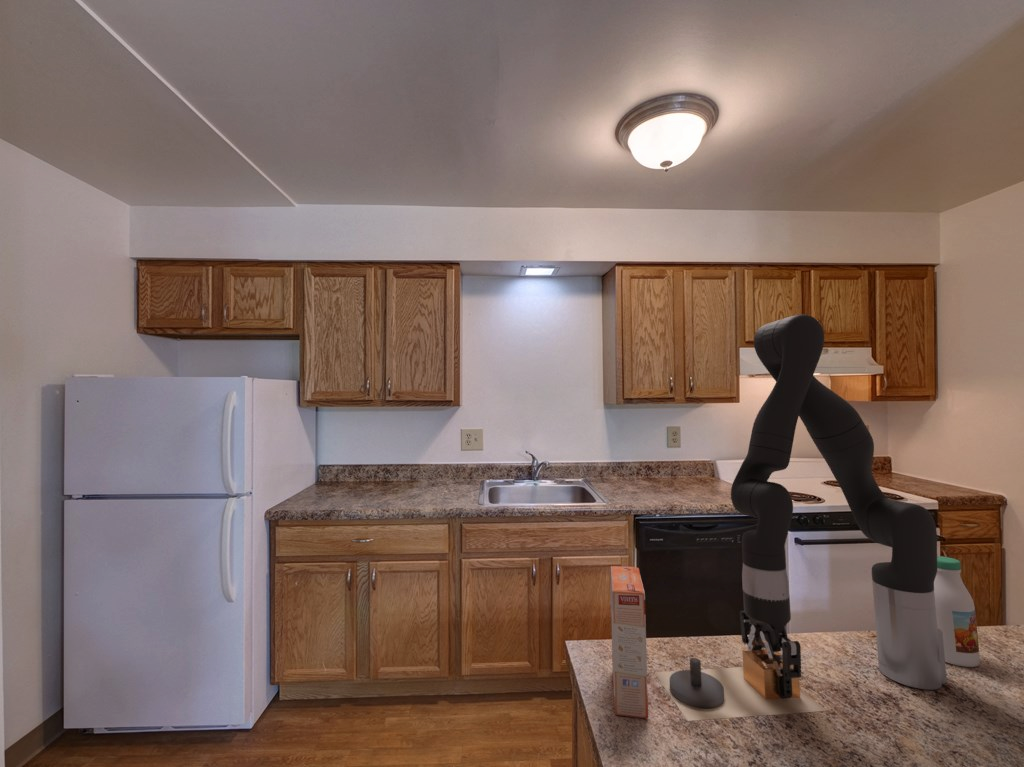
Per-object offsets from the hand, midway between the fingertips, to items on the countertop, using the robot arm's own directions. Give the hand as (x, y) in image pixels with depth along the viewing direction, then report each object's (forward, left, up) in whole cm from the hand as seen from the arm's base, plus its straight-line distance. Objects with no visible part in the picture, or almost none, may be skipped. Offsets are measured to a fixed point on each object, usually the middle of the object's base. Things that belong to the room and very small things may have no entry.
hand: (770, 684), depth 82 cm
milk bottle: (-45, -8, -2) cm, 46 cm away
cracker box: (+25, -4, -2) cm, 25 cm away
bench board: (+7, 0, -2) cm, 7 cm away
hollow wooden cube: (0, 0, -1) cm, 1 cm away
